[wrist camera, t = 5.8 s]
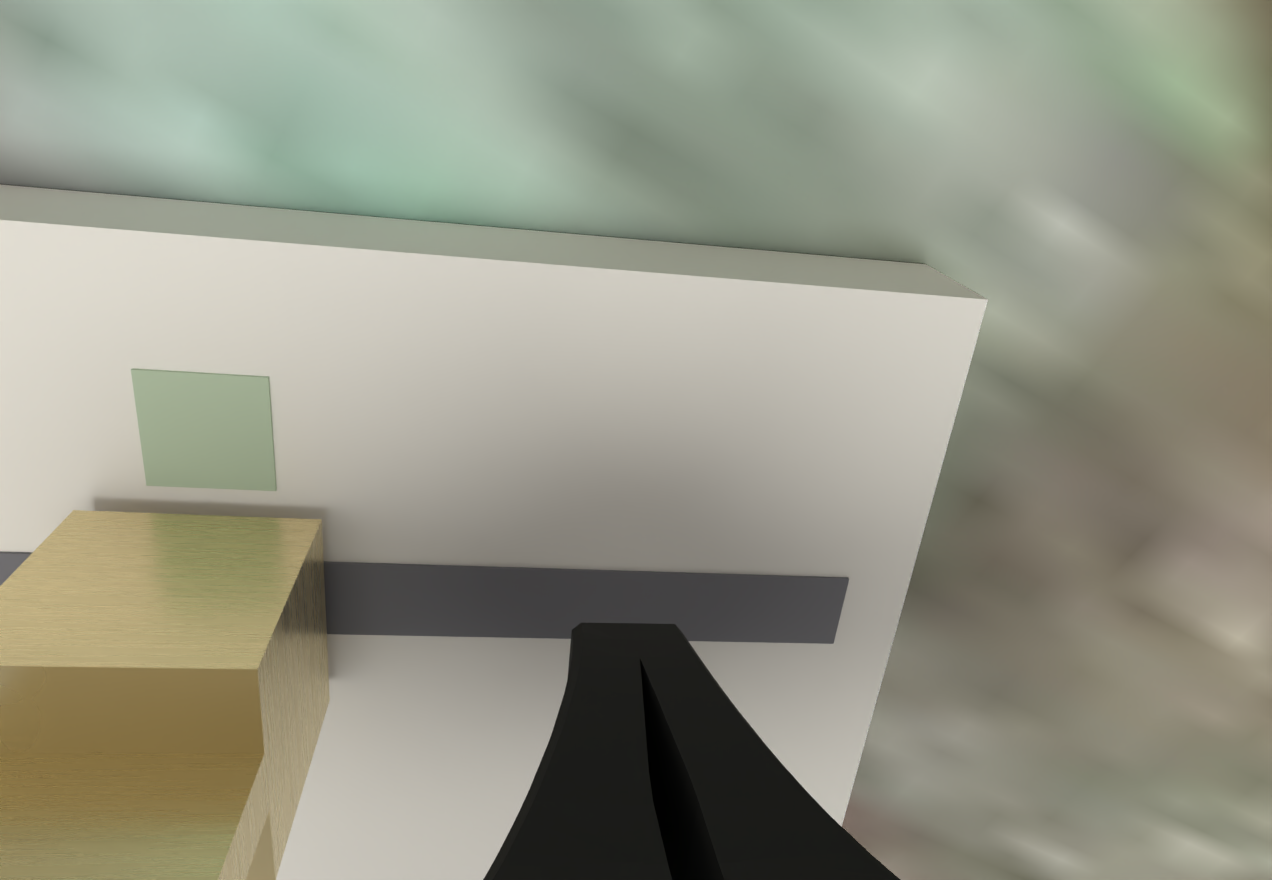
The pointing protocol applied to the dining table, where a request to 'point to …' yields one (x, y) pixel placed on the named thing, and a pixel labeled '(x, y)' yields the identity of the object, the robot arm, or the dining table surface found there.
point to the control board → (493, 470)
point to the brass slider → (160, 696)
